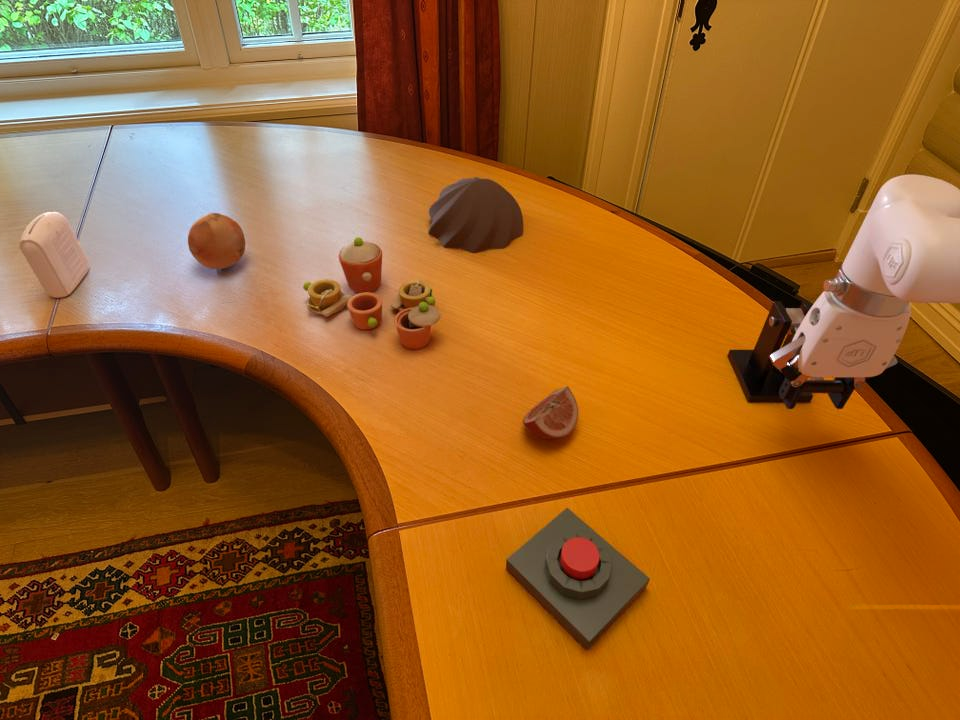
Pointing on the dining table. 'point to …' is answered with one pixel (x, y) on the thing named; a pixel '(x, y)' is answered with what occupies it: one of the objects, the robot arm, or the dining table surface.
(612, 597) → the button box
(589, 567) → the button
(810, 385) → the lever
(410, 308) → the toy tea set
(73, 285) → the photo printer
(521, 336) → the dining table surface
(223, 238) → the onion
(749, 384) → the bracket
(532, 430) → the fruit slice
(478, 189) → the decorative dome
